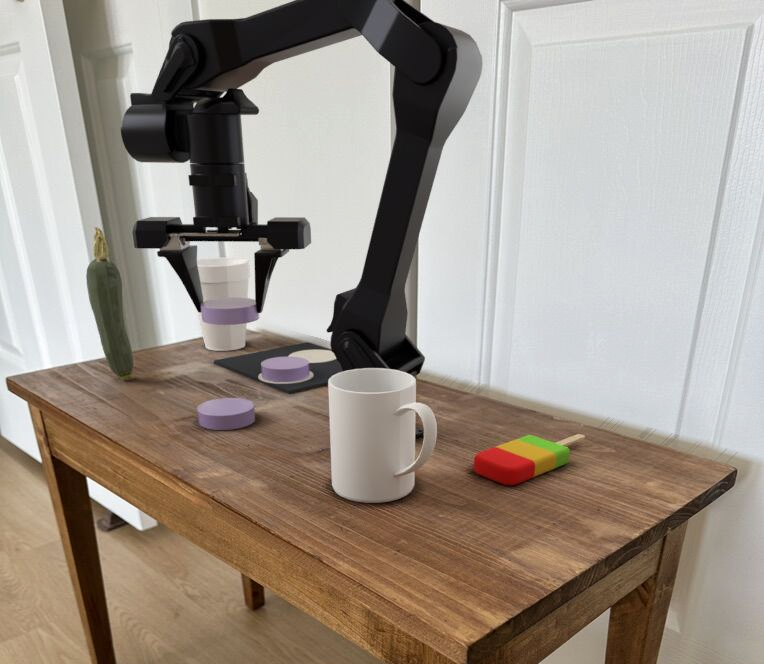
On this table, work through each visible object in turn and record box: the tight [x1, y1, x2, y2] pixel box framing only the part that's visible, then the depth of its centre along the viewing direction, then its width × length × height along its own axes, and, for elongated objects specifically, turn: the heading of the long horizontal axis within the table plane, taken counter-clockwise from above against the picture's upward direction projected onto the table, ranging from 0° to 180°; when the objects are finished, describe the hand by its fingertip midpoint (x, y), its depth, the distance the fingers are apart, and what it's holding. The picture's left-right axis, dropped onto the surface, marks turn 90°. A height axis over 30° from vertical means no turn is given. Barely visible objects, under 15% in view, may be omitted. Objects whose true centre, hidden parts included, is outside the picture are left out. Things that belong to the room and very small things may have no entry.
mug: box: [327, 368, 438, 504], centre depth 69 cm, size 12×8×10 cm, turn 38°
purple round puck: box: [261, 357, 310, 382], centre depth 105 cm, size 7×7×2 cm
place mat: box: [213, 341, 343, 394], centre depth 111 cm, size 20×17×1 cm
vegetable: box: [85, 226, 134, 381], centre depth 100 cm, size 4×4×20 cm
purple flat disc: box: [196, 397, 256, 431], centre depth 89 cm, size 7×7×2 cm
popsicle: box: [473, 433, 586, 486], centre depth 78 cm, size 6×15×2 cm, turn 131°
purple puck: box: [200, 297, 261, 325], centre depth 87 cm, size 7×7×2 cm
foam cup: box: [195, 257, 251, 352], centre depth 119 cm, size 10×9×13 cm
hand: (230, 312), depth 88 cm, fingers closed on purple puck, 6 cm apart
